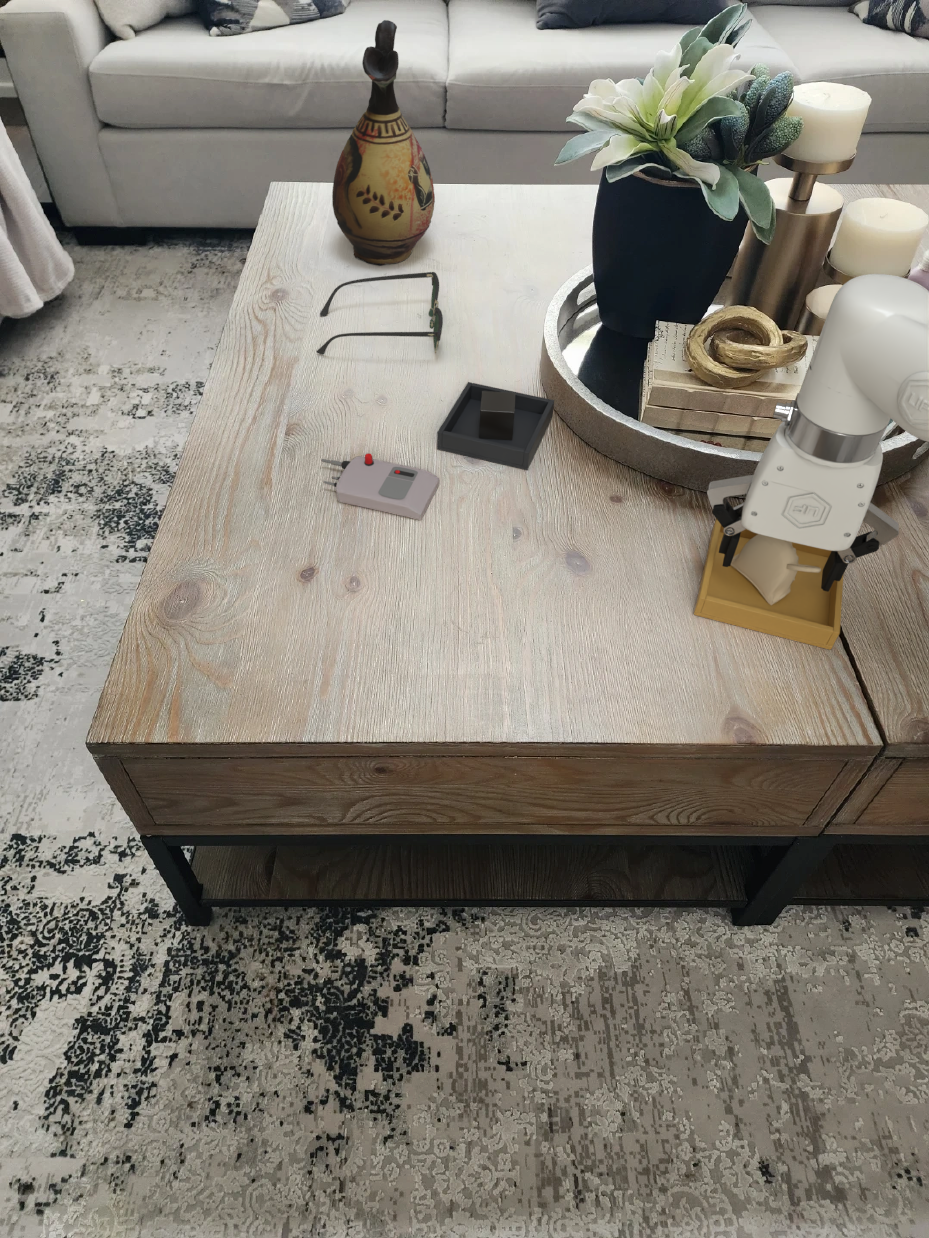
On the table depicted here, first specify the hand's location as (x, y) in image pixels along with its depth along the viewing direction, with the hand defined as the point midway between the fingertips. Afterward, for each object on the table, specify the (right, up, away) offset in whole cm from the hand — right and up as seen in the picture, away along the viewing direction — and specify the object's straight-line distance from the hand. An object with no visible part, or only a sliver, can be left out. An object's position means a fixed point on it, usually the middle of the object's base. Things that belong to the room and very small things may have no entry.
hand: (775, 569), depth 85 cm
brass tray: (0, -2, +2) cm, 3 cm away
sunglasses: (-43, +35, +33) cm, 64 cm away
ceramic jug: (-44, +54, +50) cm, 85 cm away
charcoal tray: (-27, +18, +18) cm, 37 cm away
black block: (-27, +18, +18) cm, 37 cm away
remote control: (-41, +9, +11) cm, 43 cm away
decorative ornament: (0, -1, +2) cm, 2 cm away
